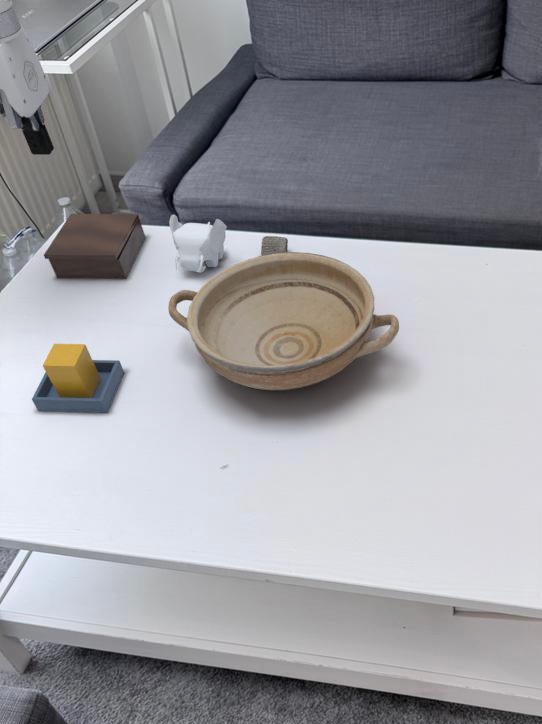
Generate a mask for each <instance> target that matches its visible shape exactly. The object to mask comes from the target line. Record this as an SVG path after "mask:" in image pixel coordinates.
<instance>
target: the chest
mask: <svg viewBox="0 0 542 724" xmlns="http://www.w3.org/2000/svg"><path fill="white" fill-rule="evenodd" d="M145 240H146V234H145V231H144V228H143V226H142V223H141V219H140V218H139V219H138V221H137V222H136V224H135V226H134V228H133V230H132V232H131V233H130V235H129V237H128V239H127V241H126V243H125V244H124V246H123V248H122V250H121V252H120V254H119V255H118V257H117V259H48V261H49V264H50V266H51V268H52V270H53V272H54V274H55V276H56V279H99V280H101V279H102V280H103V279H105V280H106V279H107V280H108V279H109V280H111V279H113V280H114V279H115V280H119V279H120V280H127V278H128V276H129V274H130V272H131V270H132V267H133V266H134V264H135V260H136V259H137V257H138V255H139V253H140V251H141V248H142V246H143V244H144V242H145Z"/></svg>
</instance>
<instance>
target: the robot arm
mask: <svg viewBox="0 0 542 724" xmlns="http://www.w3.org/2000/svg"><path fill="white" fill-rule="evenodd" d="M50 90H51V88H50V84H49V81H48V79H47V76H46V74H45V71H44V69H43V67H42V64H41V62H40V60H39V57H38V54H37V53H36V50H35V48H34V46H33V44H32V42H31V40H30V38H29V35H28V34H27V33H26V30H25V29H24V27H23V25H22V24H21V21H20V19H19V17H18V14H17V11H16V9H15V6H14V3H13V1H12V0H0V117H1V118H6V120H7V123H8V124H7V125H8V127H9V128H10V129H11V130H19V131H20V132H22V134H23V136H24V139H25V142H26V143H27V145H28V147H29V148H28V149H29V151H30V153H31V154H32V155H35V156H37V155H39V156H40V155H41V156H42V155H43V156H47V155H48V156H50V155H51V154H52V152H53V151H54V149H55V147H54V144H53V142H52V139H51V137H50V134H49V132H48V128H47V126H46V124H45V116H44V114H43V113H44V112H43V110H42V104H43V103H44V101H46V98H47V97H48V96H49V93H50Z"/></svg>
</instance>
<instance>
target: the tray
mask: <svg viewBox="0 0 542 724" xmlns="http://www.w3.org/2000/svg"><path fill="white" fill-rule="evenodd" d="M92 360H93V362H94V364H95V367H96V369H97V371H98V373H99V375H100V377H101V379H100V382H99V384H98V386H97V388H96V391H95V393H94V395H93V397H92V398H61V397H59V395H58V393H57V391H56V390H55V388H54V386H53V384H52V382H51V380H50V378H49V377H48V375H47V373H46V371H45V372H44V374H43V376H42V378H41V380H40V382H39V384H38V386H37V388H36V390H35V392H34V394H33V396H32V398H31V401H32V403H33V404H34V406H35V408H36V409H37V411H38V412H62V413H63V412H64V413H65V412H67V413H108V412H109V410H110V408H111V406H112V403H113V400H114V398H115V396H116V393H117V391H118V389H119V387H120V385H121V381H122V379H123V376H124V374H125V370H124V368H123V366H122V364H121V361H120V360H119V359H117V360H115V359H114V360H113V359H112V360H111V359H110V360H109V359H92Z"/></svg>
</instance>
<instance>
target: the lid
mask: <svg viewBox="0 0 542 724" xmlns="http://www.w3.org/2000/svg"><path fill="white" fill-rule="evenodd" d="M138 219H140V216H139V214H138V213H70V214H69V216H68V217H67V219H66V220H65V222H63V225H62V227H61V228H60V230H59V231H58V233H57V234H56V235H55V237H54V239H53V240H52V241H51V243H50V245H49V246H48V248H47V249H46V251H45V252H44V253H43V257H44V259H45V260H49V259H117V257H118V255H119V254H120V252H121V250H122V248H123V246H124V244H125V243H126V241H127V239H128V237H129V235H130V233H131V232H132V230H133V228H134V226H135V224H136V222H137V221H138Z"/></svg>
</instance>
